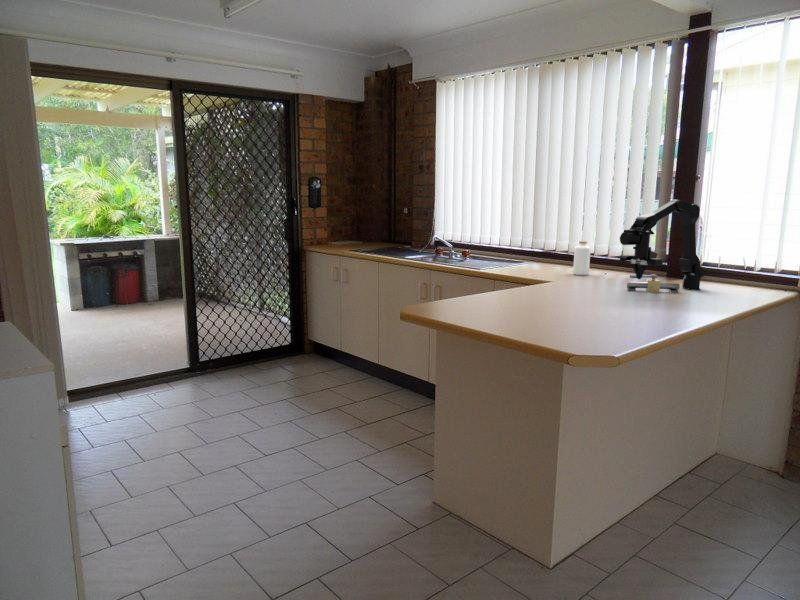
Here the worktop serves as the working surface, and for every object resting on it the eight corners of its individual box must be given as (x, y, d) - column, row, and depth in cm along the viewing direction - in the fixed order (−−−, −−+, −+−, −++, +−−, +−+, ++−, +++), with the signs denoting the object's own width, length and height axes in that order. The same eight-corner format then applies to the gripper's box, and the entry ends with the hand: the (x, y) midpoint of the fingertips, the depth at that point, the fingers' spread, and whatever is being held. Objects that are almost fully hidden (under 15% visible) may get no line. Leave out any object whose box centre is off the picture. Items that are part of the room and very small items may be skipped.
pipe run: (677, 291, 260) (678, 278, 259) (679, 293, 255) (680, 279, 254) (626, 289, 265) (627, 276, 264) (627, 291, 260) (628, 277, 259)
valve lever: (654, 276, 260) (654, 274, 260) (658, 277, 258) (658, 275, 257) (629, 277, 259) (629, 274, 259) (632, 278, 256) (633, 275, 256)
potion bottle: (586, 273, 313) (589, 240, 309) (590, 275, 304) (592, 242, 301) (571, 273, 313) (573, 240, 310) (574, 275, 305) (576, 242, 302)
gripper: (672, 245, 248) (669, 280, 251) (636, 242, 264) (633, 275, 267) (656, 246, 243) (652, 282, 246) (620, 243, 259) (617, 276, 262)
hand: (639, 279), depth 255 cm, fingers closed
